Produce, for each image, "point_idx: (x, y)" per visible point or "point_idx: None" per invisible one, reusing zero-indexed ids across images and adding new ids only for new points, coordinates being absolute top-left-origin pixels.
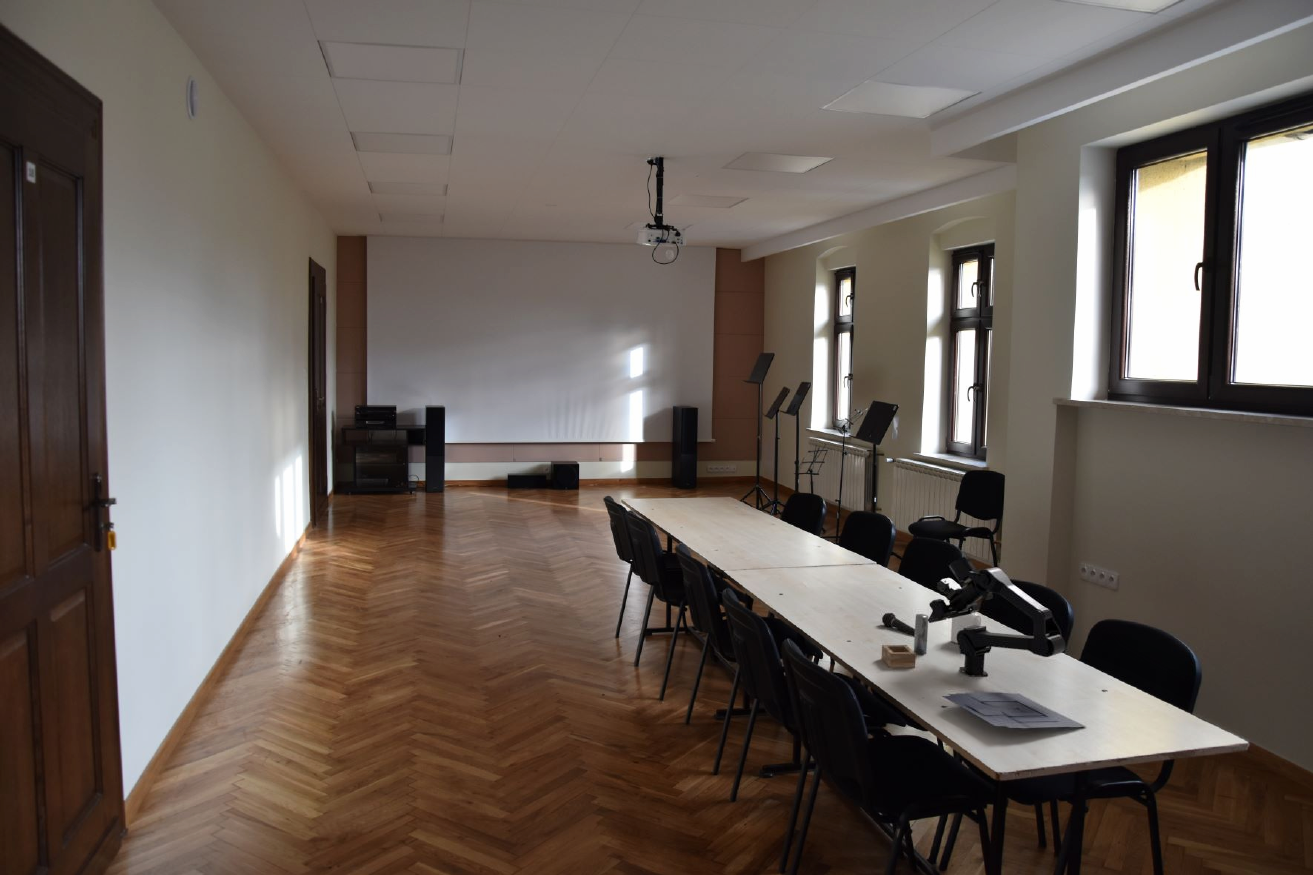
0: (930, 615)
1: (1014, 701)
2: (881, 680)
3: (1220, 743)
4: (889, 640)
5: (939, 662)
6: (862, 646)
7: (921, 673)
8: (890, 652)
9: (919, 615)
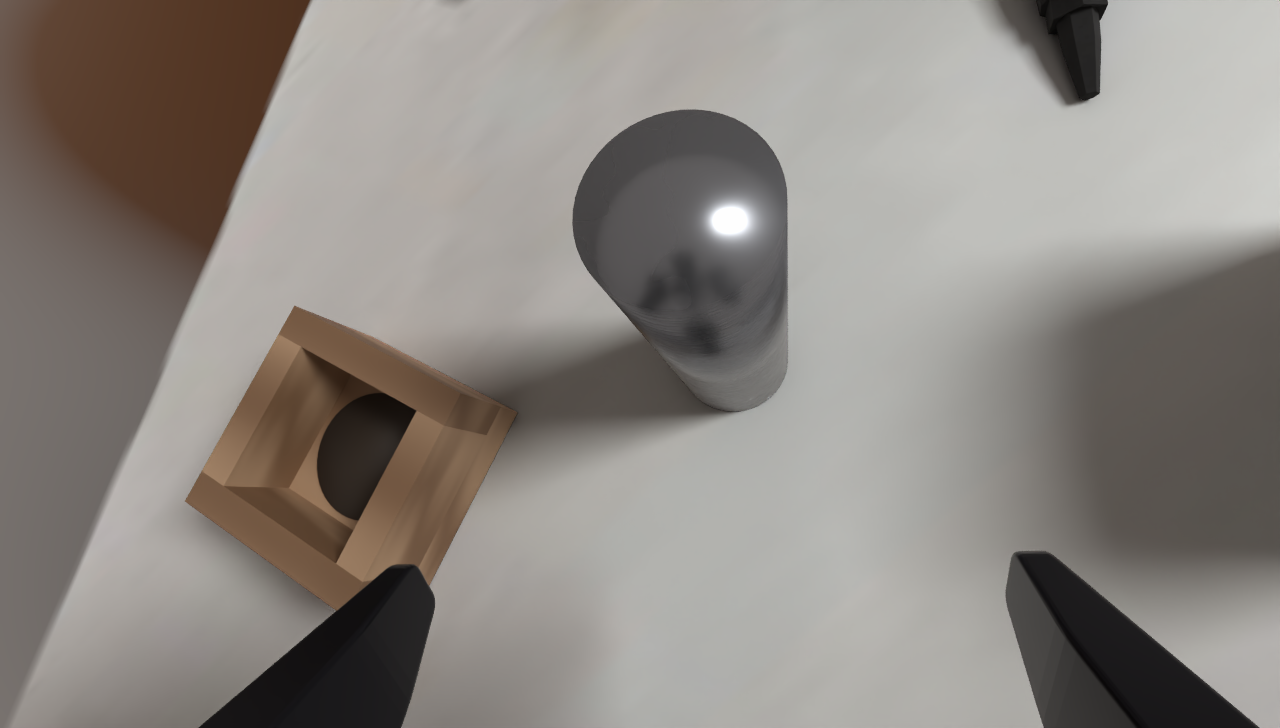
0: (237, 700)
1: None
2: (65, 650)
3: None
4: (730, 49)
5: (696, 621)
6: (455, 99)
7: None
8: (205, 476)
9: (646, 180)
